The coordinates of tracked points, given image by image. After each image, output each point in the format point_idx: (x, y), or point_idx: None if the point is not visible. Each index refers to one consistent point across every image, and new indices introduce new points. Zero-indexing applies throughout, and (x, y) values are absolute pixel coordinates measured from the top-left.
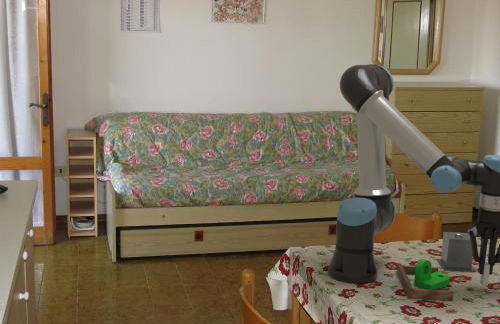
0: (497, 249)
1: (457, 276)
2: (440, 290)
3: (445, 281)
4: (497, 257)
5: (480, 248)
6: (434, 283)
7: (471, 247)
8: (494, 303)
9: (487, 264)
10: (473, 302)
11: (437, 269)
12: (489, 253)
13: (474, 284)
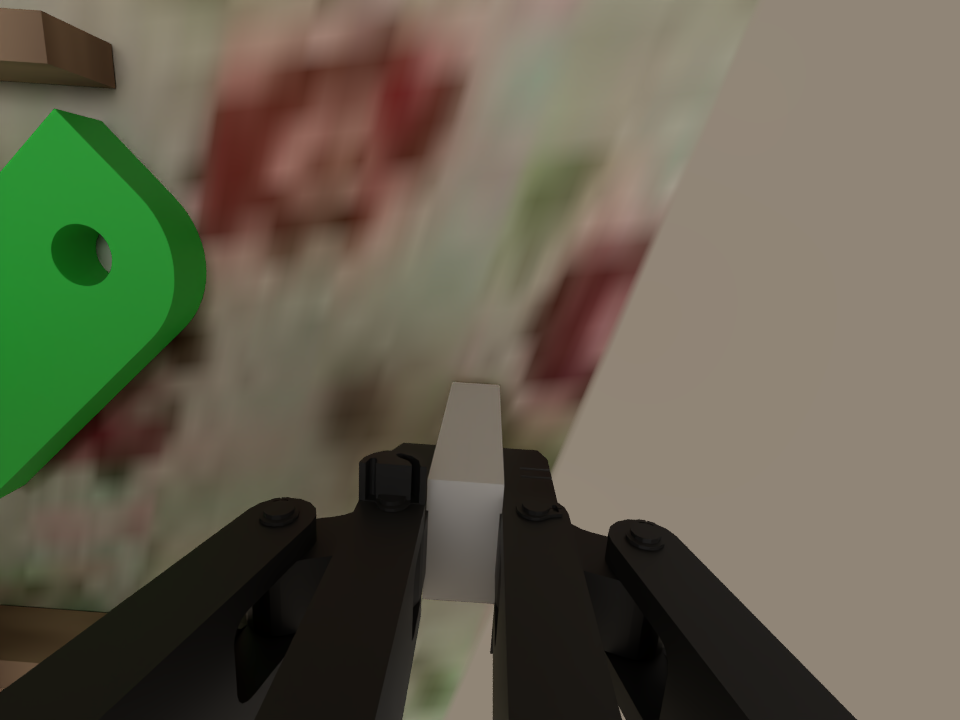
0: (724, 694)
1: (320, 82)
2: (25, 667)
3: (127, 368)
4: (623, 700)
5: (281, 688)
6: (8, 460)
7: (50, 657)
8: (460, 666)
9: (471, 568)
10: None
11: (50, 66)
12: (498, 669)
13: (431, 300)
